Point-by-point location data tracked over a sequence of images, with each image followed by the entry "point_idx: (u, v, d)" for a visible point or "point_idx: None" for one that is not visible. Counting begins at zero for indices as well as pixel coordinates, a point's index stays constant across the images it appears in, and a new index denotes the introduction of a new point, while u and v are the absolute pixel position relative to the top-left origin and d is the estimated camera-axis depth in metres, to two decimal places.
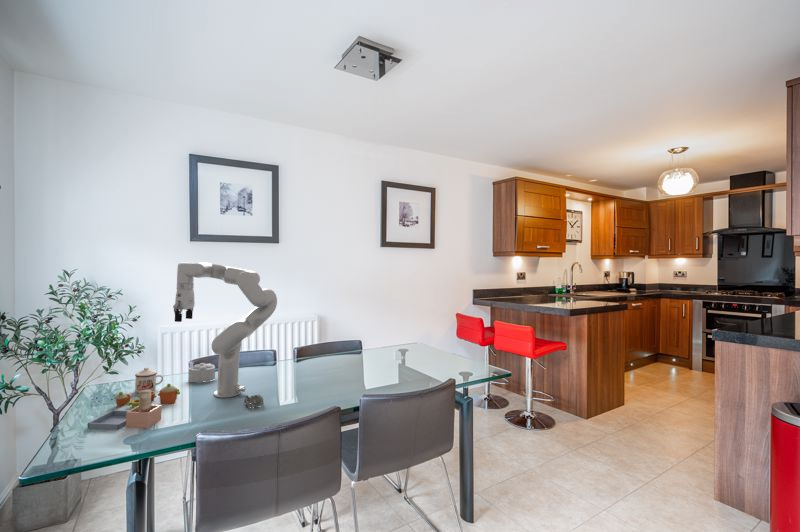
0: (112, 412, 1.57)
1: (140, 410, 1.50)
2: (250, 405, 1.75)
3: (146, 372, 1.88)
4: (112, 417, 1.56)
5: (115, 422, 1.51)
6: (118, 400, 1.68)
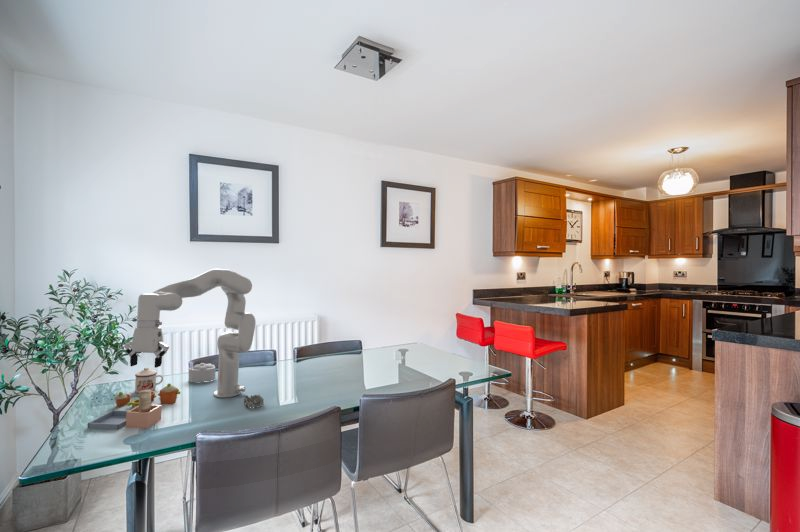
0: (112, 412, 1.57)
1: (140, 410, 1.50)
2: (250, 405, 1.75)
3: (146, 372, 1.88)
4: (112, 417, 1.56)
5: (115, 422, 1.51)
6: (118, 400, 1.68)
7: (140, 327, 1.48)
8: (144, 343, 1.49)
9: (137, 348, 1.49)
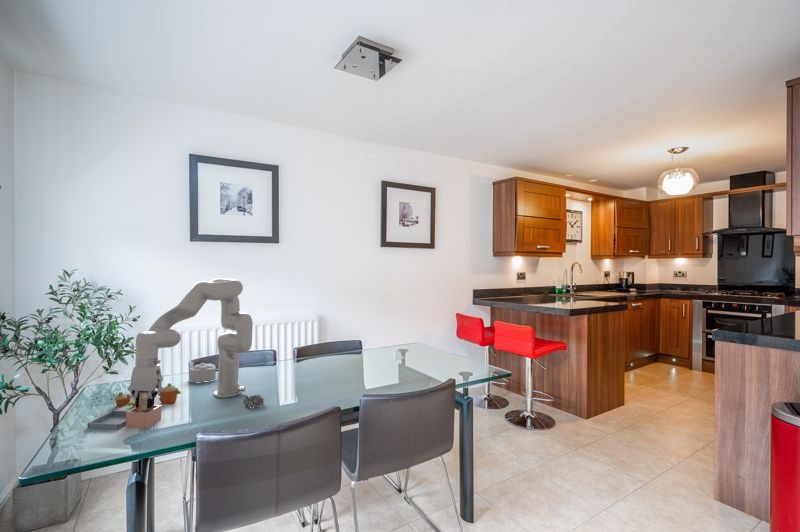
0: (112, 412, 1.57)
1: (140, 410, 1.50)
2: (251, 405, 1.75)
3: None
4: (112, 417, 1.56)
5: (115, 422, 1.51)
6: (118, 400, 1.68)
7: (139, 366, 1.48)
8: (143, 382, 1.50)
9: (136, 387, 1.50)
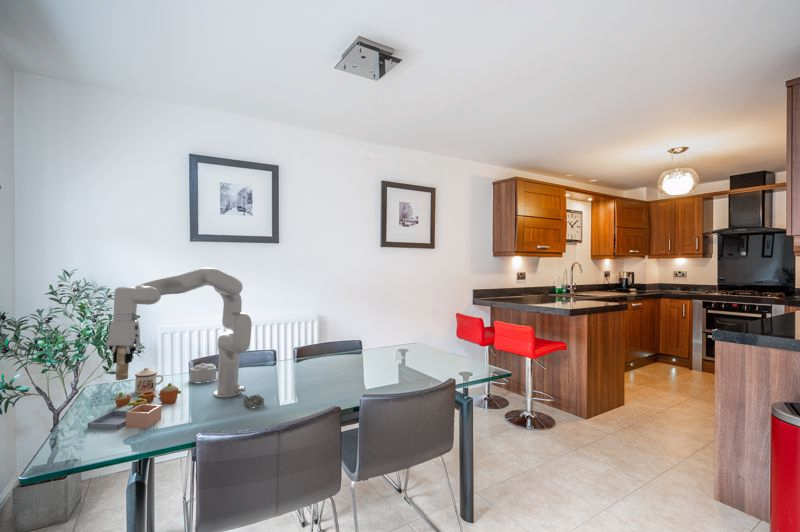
0: (112, 412, 1.57)
1: (118, 365, 1.50)
2: (251, 405, 1.75)
3: (146, 372, 1.88)
4: (112, 417, 1.56)
5: (115, 422, 1.51)
6: (118, 401, 1.67)
7: (116, 320, 1.48)
8: (121, 336, 1.49)
9: (114, 341, 1.49)
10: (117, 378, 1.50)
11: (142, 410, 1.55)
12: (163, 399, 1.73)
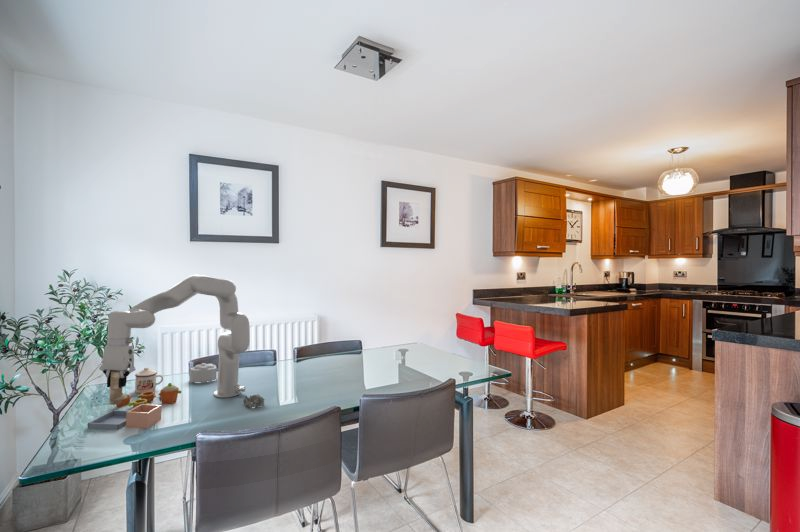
0: (112, 412, 1.57)
1: (111, 389, 1.50)
2: (252, 405, 1.75)
3: (146, 372, 1.88)
4: (112, 417, 1.56)
5: (115, 422, 1.51)
6: None
7: (110, 345, 1.48)
8: (114, 361, 1.49)
9: (107, 366, 1.49)
10: (111, 402, 1.50)
11: (142, 410, 1.55)
12: (163, 399, 1.73)
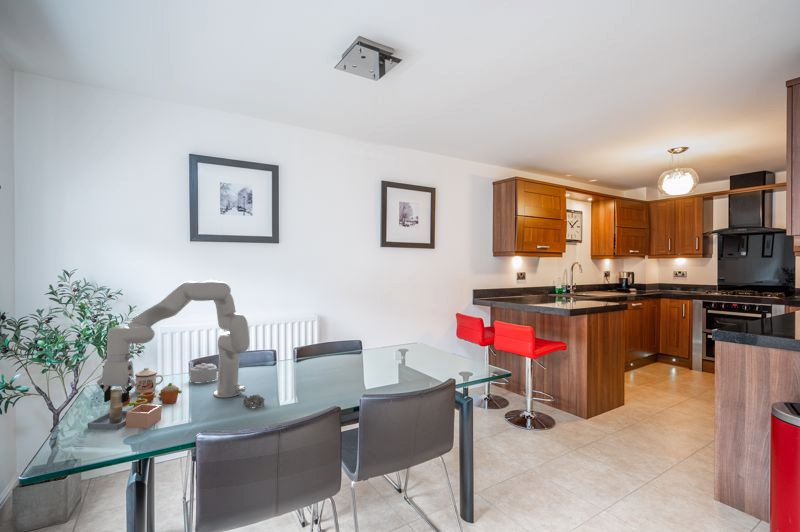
0: None
1: (111, 409, 1.50)
2: (252, 405, 1.75)
3: (146, 372, 1.88)
4: None
5: None
6: None
7: (109, 361, 1.48)
8: (114, 377, 1.49)
9: (107, 382, 1.50)
10: (111, 422, 1.50)
11: (142, 410, 1.55)
12: (164, 399, 1.73)
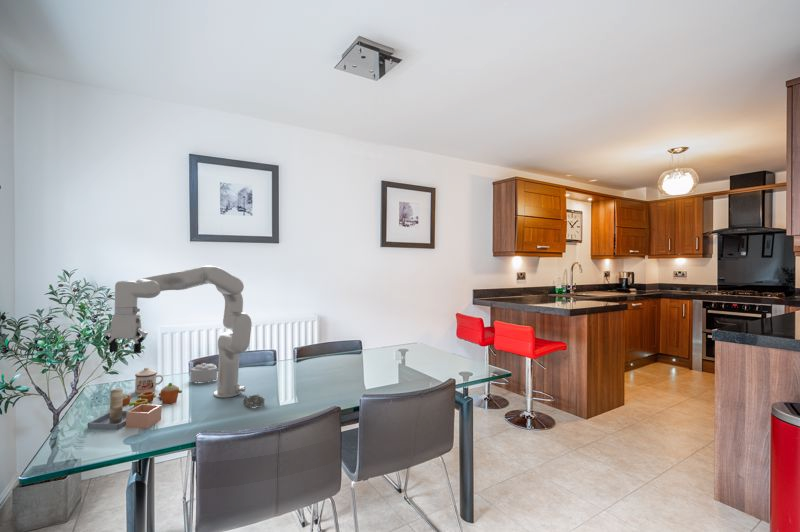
0: None
1: (111, 409, 1.50)
2: (252, 405, 1.75)
3: (146, 372, 1.88)
4: None
5: None
6: None
7: (118, 314, 1.50)
8: (122, 329, 1.52)
9: (116, 334, 1.52)
10: (111, 422, 1.50)
11: (142, 410, 1.55)
12: (164, 399, 1.74)
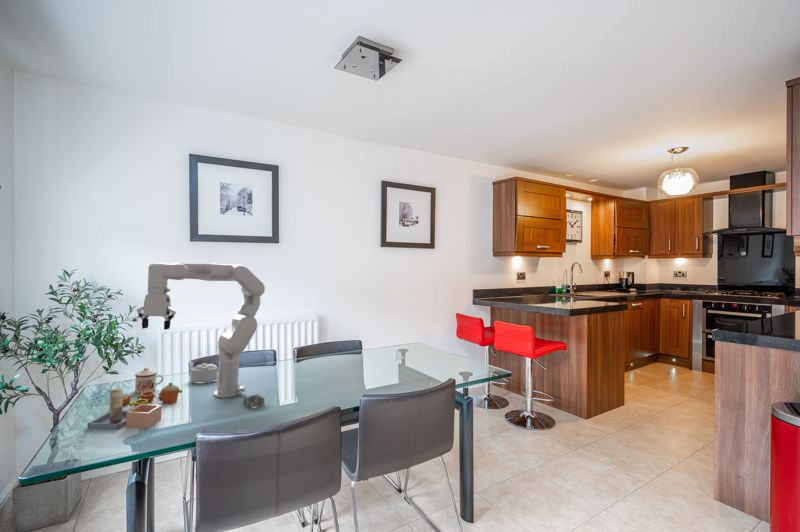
0: None
1: (111, 409, 1.50)
2: (252, 405, 1.75)
3: (146, 372, 1.88)
4: None
5: None
6: None
7: (150, 293, 1.65)
8: (154, 307, 1.66)
9: (148, 312, 1.66)
10: (111, 422, 1.50)
11: (142, 410, 1.55)
12: (164, 398, 1.74)
